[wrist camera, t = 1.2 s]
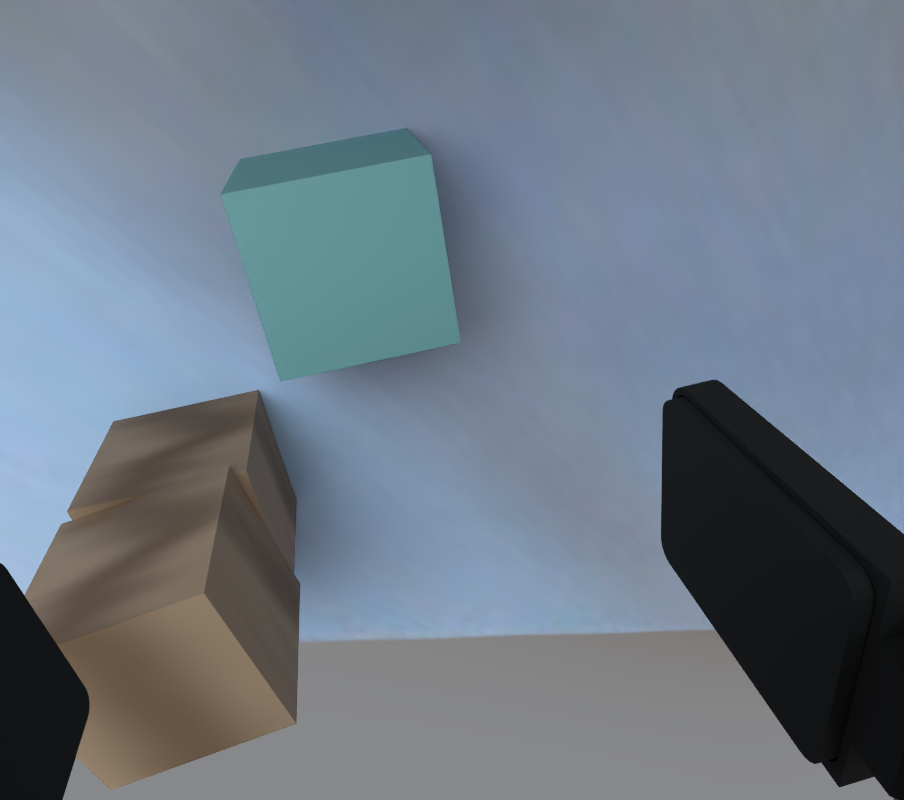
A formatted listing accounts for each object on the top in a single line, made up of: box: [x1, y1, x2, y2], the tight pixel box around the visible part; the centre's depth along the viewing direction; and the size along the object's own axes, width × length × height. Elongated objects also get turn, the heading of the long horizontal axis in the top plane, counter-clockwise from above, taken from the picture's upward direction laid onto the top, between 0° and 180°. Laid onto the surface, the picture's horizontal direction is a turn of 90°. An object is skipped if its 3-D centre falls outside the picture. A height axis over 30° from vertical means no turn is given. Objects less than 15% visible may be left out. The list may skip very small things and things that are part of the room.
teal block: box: [220, 128, 461, 382], centre depth 23 cm, size 6×6×6 cm
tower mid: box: [24, 465, 300, 790], centre depth 21 cm, size 6×6×6 cm
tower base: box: [67, 390, 296, 573], centre depth 27 cm, size 6×6×6 cm
